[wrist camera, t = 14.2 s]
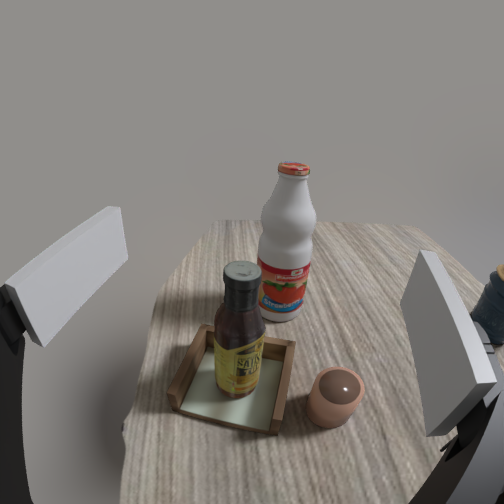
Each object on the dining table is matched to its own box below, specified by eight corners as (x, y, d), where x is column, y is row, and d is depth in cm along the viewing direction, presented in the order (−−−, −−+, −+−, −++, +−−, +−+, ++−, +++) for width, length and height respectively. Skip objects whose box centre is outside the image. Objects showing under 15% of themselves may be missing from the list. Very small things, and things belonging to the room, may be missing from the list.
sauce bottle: (240, 408, 36) (245, 299, 26) (206, 385, 39) (196, 274, 29) (267, 378, 41) (282, 268, 31) (234, 359, 44) (236, 249, 34)
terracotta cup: (343, 386, 41) (354, 362, 38) (357, 422, 35) (372, 401, 32) (300, 393, 40) (308, 369, 37) (312, 432, 34) (322, 412, 31)
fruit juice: (290, 289, 63) (307, 158, 49) (309, 317, 55) (336, 173, 41) (248, 296, 60) (255, 158, 46) (263, 327, 52) (277, 173, 38)
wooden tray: (291, 361, 46) (295, 341, 43) (277, 435, 34) (282, 420, 31) (203, 344, 48) (201, 323, 46) (172, 410, 36) (166, 392, 34)
